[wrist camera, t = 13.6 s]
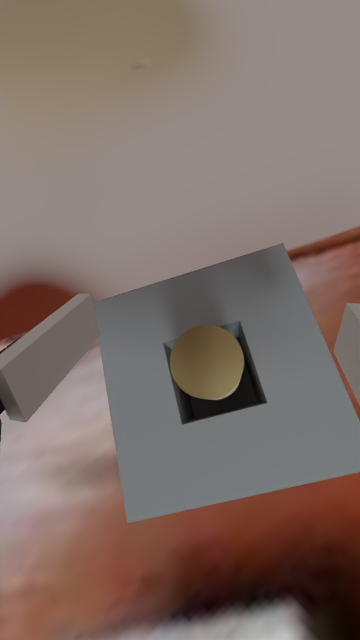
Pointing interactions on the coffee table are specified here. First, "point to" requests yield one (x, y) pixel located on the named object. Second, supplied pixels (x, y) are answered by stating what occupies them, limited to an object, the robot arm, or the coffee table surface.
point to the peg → (207, 362)
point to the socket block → (234, 412)
